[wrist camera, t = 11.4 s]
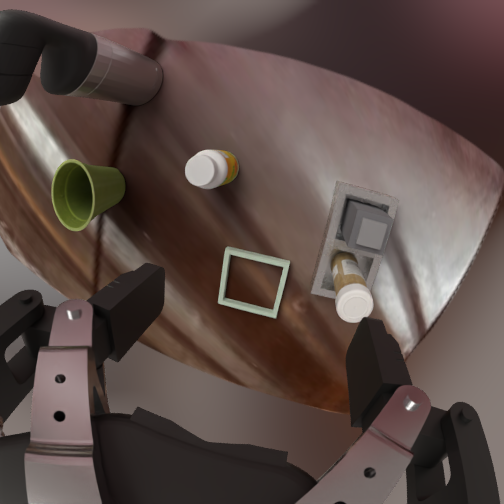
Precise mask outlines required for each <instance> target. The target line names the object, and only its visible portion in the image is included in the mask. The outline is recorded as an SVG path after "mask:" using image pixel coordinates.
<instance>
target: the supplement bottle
mask: <svg viewBox="0 0 504 504" xmlns="http://www.w3.org/2000/svg"><path fill="white" fill-rule="evenodd" d="M238 171H239V164H238V161H237V159H236V157H235V156H234V155H233V154H232V153H230V152H228V151H223V150H203V151H201V152H199V153H197V154H196V155H195V156H194V157H192V158H191V159H190V160H189V161H188V162H187V164H186V167H185V174H186V177H187V179H188V181H189V182H190V183H191V184H193V185H195V186H199V187H201V188H204V189H212V188H215V187H218V186H221V185H224V184H227V183H230V182H231V181H233V180H234V179H235V177H236V176H237V174H238Z"/></svg>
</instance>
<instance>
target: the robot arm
mask: <svg viewBox="0 0 504 504" xmlns="http://www.w3.org/2000/svg"><path fill="white" fill-rule="evenodd" d="M41 53H42V62H41V73H40V77H41V83H42V86H43V88H44V89H45V91H47V92H48V93H50V94H55V95H66V96H76V97H85V98H92V99H99V100H106V101H112V102H118V103H123V104H129V105H134V106H135V105H142V104H144V103H146V102H148V101H149V100H151V99H152V98H153V97H154V96H155V95H156V93H157V92H158V90H159V88H160V86H161V83H162V79H163V72H162V69H161V66H160V65H159V64H158V63H157V62H156V61H154V60H152V59H150V58H148V57H146V56H144V55H142V54H140V53H137V52H135V51H133V50H131V49H129V48H126V47H124V46H122V45H119V44H117V43H115V42H112V41H110V40H107V39H105V38H102V37H99V36H97V35H94V34H91V33H89V32H86V31H83V30H79V29H76V28H73V27H70V26H67V25H64V24H62V23H59V22H56V21H53V20H51V19H48V18H46V17H43V16H40V15H37V14H34V13H30V12H27V11H22V10H3V11H0V106H2V105H7V104H11V103H14V102H16V101H18V100H19V99H21V98H22V96H23V95H24V93H25V91H26V89H27V87H28V85H29V82H30V80H31V77H32V74H33V72H34V70H35V67H36V65H37V62H38V60H39V58H40V56H41ZM164 288H165V270H164V268H163V267H160V266H157V265H153V264H150V263H145V264H143V265H142V266H141V267H139V268H138V269H136V270H135V271H130V272H127V273H124V274H122V275H120V276H119V277H118V278H116V279H115V280H114V282H113V281H112V282H111V283H109V284H108V286H105V287H104V288H103V289H101V290H100V291H99V292H97V293H96V294H95V295H93V296H92V297H91V298H89V299H88V300H87V301H85V300H82V299H71V300H67V301H65V302H63V303H61V304H60V305H59V306H58V307H52V306H48V305H44V304H43V299H42V295H41V293H39V292H38V291H36V290H24V291H21V292H19V293H17V294H15V295H14V296H13V297H12V298H10V299H8V300H7V301H6V302H4V303H3V304H2V305H0V504H383V503H384V501H385V500H386V499H387V497H388V496H389V494H390V493H391V491H392V490H393V488H394V487H395V485H396V484H397V482H398V481H399V479H400V478H401V476H402V474H403V473H404V471H405V470H406V478H407V504H500V500H499V493H498V487H497V482H496V477H495V472H494V467H493V463H492V459H491V456H490V451H489V448H488V444H487V441H486V438H485V434H484V431H483V428H482V425H481V422H480V419H479V416H478V414H477V412H476V411H475V409H474V408H473V407H472V406H470V405H469V404H467V403H464V402H457V403H455V404H453V405H452V407H451V408H450V409H449V410H448V411H444V410H442V409H438V408H435V407H432V406H431V402H430V399H429V397H428V396H427V395H426V393H425V392H424V391H423V390H421V389H419V388H418V387H415V386H413V385H412V382H411V379H410V376H409V373H408V370H407V367H406V364H405V362H404V358H403V355H402V354H401V350H400V347H399V344H398V342H397V341H396V340H395V339H394V338H393V337H392V335H391V334H387V332H386V329H385V326H384V324H383V321H382V320H379V319H373V318H368V317H363V318H362V320H361V321H360V324H359V326H358V328H357V330H356V332H355V335H354V337H353V339H352V341H351V343H350V345H349V348H348V350H347V354H346V370H347V379H348V390H349V402H350V416H351V427H362V430H363V431H362V432H363V433H362V434H361V435H360V436H359V437H358V439H357V440H356V441H355V442H354V443H353V444H352V445H351V446H350V448H349V449H348V450H347V451H346V452H345V453H344V454H343V455H342V456H341V457H340V459H338V460H337V462H336V463H335V464H334V465H333V466H332V467H331V468H330V469H329V470H328V471H326V473H325V474H324V475H322V476H321V477H320V478H319V479H318V480H317V481H316V480H315V479H314V478H313V477H312V476H310V475H309V474H308V473H307V472H305V471H304V470H302V469H300V468H299V467H297V466H295V465H293V464H291V463H288V462H286V461H287V455H288V452H285V451H279V450H274V449H268V448H263V447H259V446H254V445H250V444H225V443H212V442H207V441H204V440H202V439H200V438H199V437H197V436H195V435H194V434H192V433H190V432H188V431H187V430H185V429H183V428H182V427H180V426H179V425H177V424H176V423H174V422H173V421H171V420H168V419H166V418H163V417H161V416H158V415H156V414H154V413H151V412H149V411H146V410H144V409H142V408H140V407H137V408H136V410H135V411H134V413H133V414H132V415H130V414H122V413H111V412H110V408H109V403H108V396H107V387H106V377H105V366H104V361H105V359H107V358H110V359H112V360H114V361H116V362H119V361H120V360H121V358H122V357H123V356H124V355H125V354H126V353H127V351H128V350H129V349H130V348H131V347H132V346H133V344H134V343H135V342H136V341H137V340H138V339H139V337H140V336H141V335H142V334H143V333H144V332H145V330H146V329H147V328H148V327H149V326H150V325H151V324H152V322H153V321H154V320H155V319H156V318H157V317H158V316H159V314H160V313H161V311H162V309H163V305H164ZM20 335H21V336H22V338H23V341H24V344H25V346H24V347H23V348H22V349H21V350H20V351H19V352H18V353H17V354H16V355H15V356H14V357H13V358H12V359H11V360H10V361H9V362H8V363H6V360H5V356H4V354H5V350H6V348H7V347H8V346H9V345H10V344H11V343H12V342H13V341H14V340H16V339H17V338H18V337H19V336H20ZM33 387H34V388H33ZM32 388H33V398H32V411H31V432H26V433H21V434H15V435H10V436H5V434H4V432H3V431H2V429H3V423H4V422H5V421H6V420H7V418H8V417H9V416H10V414H11V413H12V412H13V411H14V410H15V408H16V407H17V406H18V405H19V403H20V402H21V401H22V400H23V399H24V398H25V396H26V395H27V394H28V393H29V392H30V391H31V389H32ZM447 456H448V459H449V465H450V471H451V477H450V480H449V482H448V484H447V486H446V484H445V477H444V469H443V463H442V461H443V460H444V459H445V458H446V457H447Z"/></svg>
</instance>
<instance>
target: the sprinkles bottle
mask: <svg viewBox="0 0 504 504" xmlns="http://www.w3.org/2000/svg"><path fill="white" fill-rule="evenodd" d="M331 271H332V276H333V282H334V288H335V292H336V300H335V304H336V310H337V313H338V315H339V317H340V318H341V319H343V320H344V321H346V322H350V323H356V322H360V321H361V320H362V318H363V317H368V316H369V315H370V313H371V312H372V310H373V299H372V295H371V293H370V291H369V289H368V288H367V286H366V282H365V279H364V277H363V274H362V272H361V269H360V267H359V265H358V261H357V259H356V257H355V256H354V255H352V254H351V253H347V252H342V253H339V254H337V255H336V256H335V257H334V258H333V260H332V262H331Z"/></svg>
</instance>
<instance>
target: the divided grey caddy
mask: <svg viewBox="0 0 504 504" xmlns="http://www.w3.org/2000/svg"><path fill="white" fill-rule="evenodd" d="M347 198H349V199H353V200H357V201H360V202H364V203H368V204H371V205H375V206H377V207H379V208H380V209H381V210H383V211H384V212H385V213H386V214H388V215H389V216H390V217H392V218H393V219H394V218H395V214H396V210H397V207H398V203H399V200H398V199H396V198H394V197H392V196H390V195H386V194H383V193H380V192H376V191H373V190H369V189H366V188H362V187H359V186H355V185H351V184H348V183H344V182H340V181H337V182H336V187H335V191H334V195H333V200H332V204H331V208H330V212H329V216H328V220H327V225H326V228H325V232H324V236H323V240H322V244H321V248H320V251H319V255H318V259H317V262H316V266H315V270H314V273H313V277H312V280H311V293H312V294H316V295H320V296H325V297H329V298H334V299H336V292H335V288H334V282H333V276H332V271H331V262H332V260H333V258H334V257H335V256H336V255H337V254H339V253H342V252H347V253H351V254H352V255H354V256H355V257H356V259H357V261H358V265H359V267H360V269H361V272H362V274H363V277H364V279H365V282H366V286H367V288H368V289H369V291H370V290H371V288H372V285H373V282H374V280H375V277H376V274H377V271H378V268H379V266H380V263H381V260H382V257H383V256H381V255H377V254H374V253H370V252H366V251H362V250H358V249H354V248H350V247H347V244H346V242H345V239H344V237H343V235H342V232H341V230H340V226H341V222H342V218H343V214H344V210H345V206H346V202H347ZM393 221H394V220H393ZM392 225H393V224H392ZM391 228H392V227H391ZM389 235H390V234H389ZM388 238H389V237H388ZM387 241H388V240H387ZM385 248H386V247H385ZM384 251H385V250H384ZM383 254H384V253H383Z"/></svg>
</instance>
